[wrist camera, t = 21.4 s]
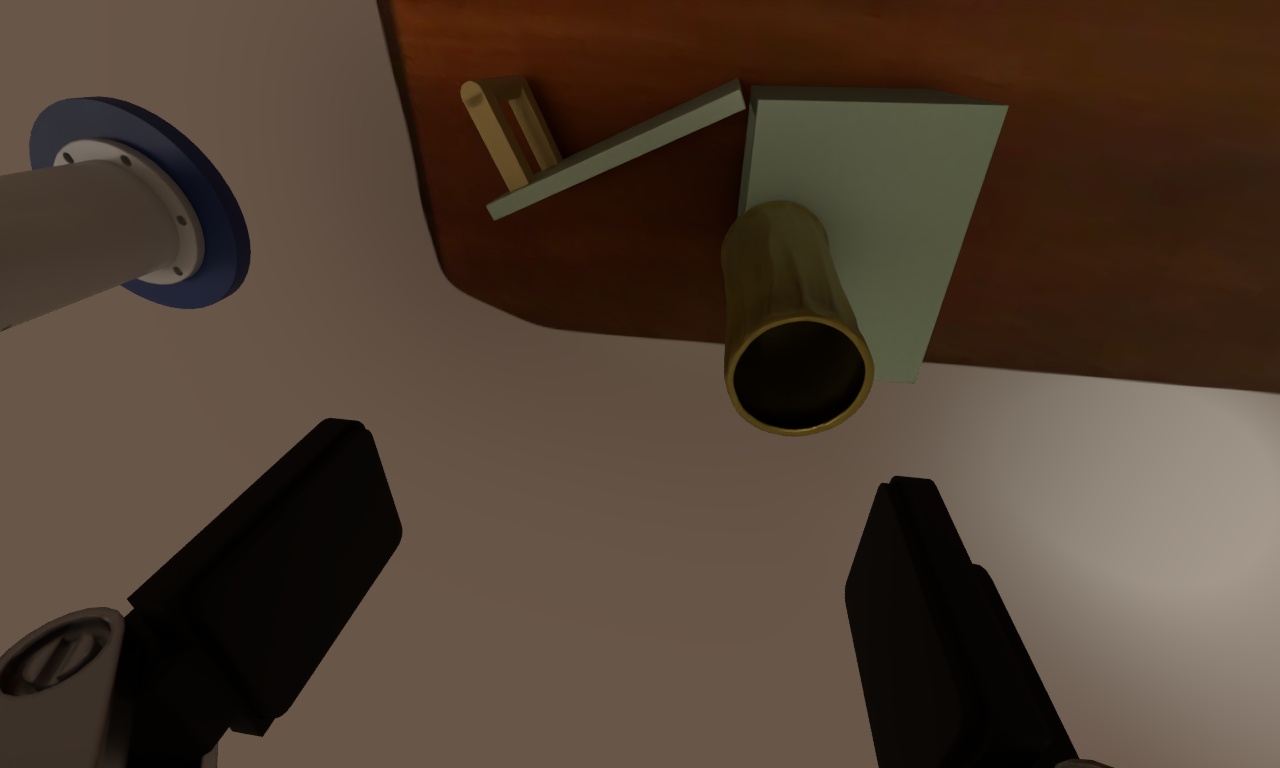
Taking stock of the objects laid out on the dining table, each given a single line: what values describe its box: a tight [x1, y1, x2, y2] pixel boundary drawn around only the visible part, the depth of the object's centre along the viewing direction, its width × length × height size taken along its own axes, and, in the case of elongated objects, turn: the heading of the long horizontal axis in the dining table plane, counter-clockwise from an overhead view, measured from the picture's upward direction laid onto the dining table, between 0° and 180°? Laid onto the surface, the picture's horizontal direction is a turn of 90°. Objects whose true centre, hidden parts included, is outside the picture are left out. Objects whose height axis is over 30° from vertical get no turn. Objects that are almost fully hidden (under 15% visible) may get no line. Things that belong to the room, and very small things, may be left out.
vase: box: [721, 201, 874, 436], centre depth 25 cm, size 6×6×14 cm
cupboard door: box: [461, 75, 746, 221], centre depth 34 cm, size 7×16×12 cm, turn 113°
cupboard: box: [737, 85, 1009, 384], centre depth 36 cm, size 12×16×12 cm
